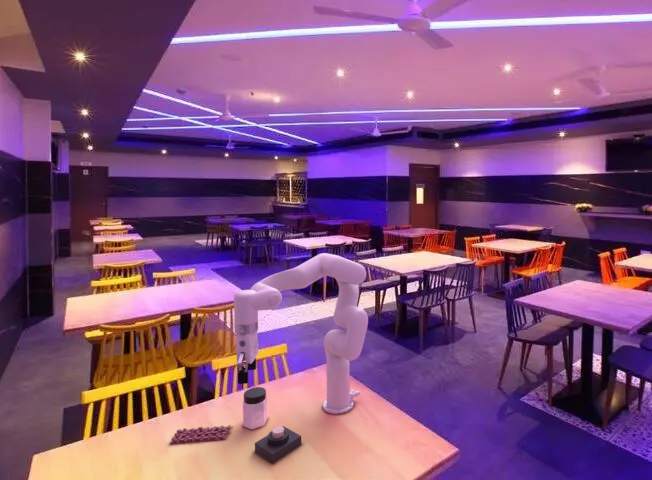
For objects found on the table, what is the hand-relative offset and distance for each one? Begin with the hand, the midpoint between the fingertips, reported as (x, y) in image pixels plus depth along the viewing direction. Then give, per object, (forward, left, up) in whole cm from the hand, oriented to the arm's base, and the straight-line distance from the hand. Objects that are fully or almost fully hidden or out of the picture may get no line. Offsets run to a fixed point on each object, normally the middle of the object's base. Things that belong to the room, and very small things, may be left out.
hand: (247, 376), depth 137 cm
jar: (-7, -14, -26) cm, 31 cm away
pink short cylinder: (-8, +6, -21) cm, 24 cm away
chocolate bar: (+11, -19, -27) cm, 34 cm away
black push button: (-8, +6, -26) cm, 28 cm away
